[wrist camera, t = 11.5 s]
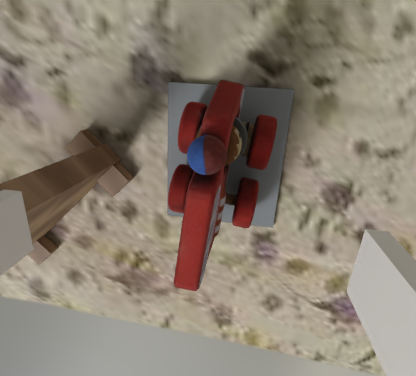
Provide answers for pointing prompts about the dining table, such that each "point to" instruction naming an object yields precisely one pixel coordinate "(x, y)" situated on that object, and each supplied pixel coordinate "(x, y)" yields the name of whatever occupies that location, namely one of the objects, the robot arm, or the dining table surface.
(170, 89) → the mat
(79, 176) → the screen
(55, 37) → the dining table surface
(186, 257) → the toy fire truck
